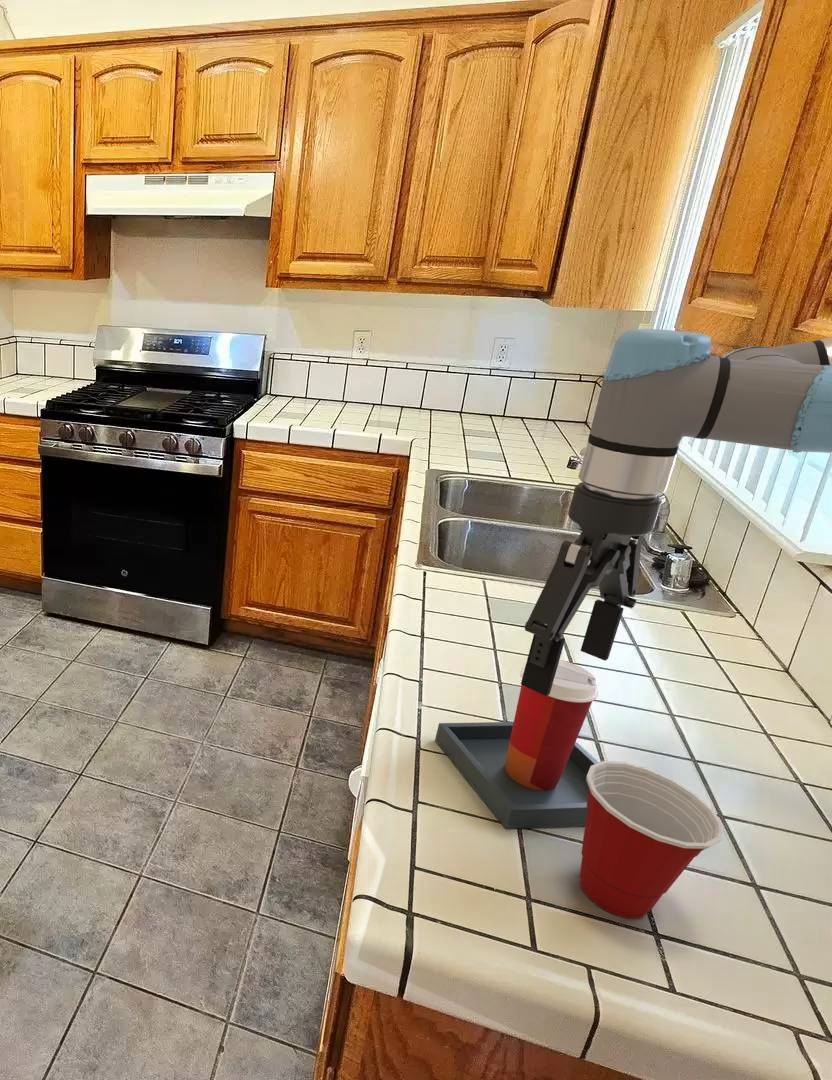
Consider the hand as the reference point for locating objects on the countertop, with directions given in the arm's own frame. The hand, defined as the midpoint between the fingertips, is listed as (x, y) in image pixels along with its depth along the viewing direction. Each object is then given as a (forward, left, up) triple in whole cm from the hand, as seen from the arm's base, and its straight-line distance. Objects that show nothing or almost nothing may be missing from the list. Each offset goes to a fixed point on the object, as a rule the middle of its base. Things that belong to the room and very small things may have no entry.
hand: (565, 671), depth 84 cm
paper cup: (0, 0, -15) cm, 15 cm away
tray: (0, 0, -15) cm, 15 cm away
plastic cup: (-17, +2, -15) cm, 23 cm away
